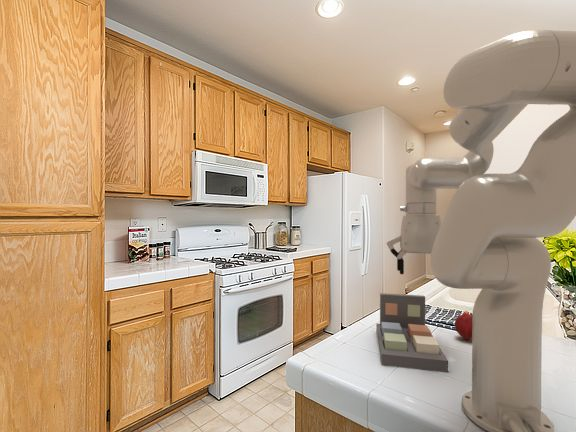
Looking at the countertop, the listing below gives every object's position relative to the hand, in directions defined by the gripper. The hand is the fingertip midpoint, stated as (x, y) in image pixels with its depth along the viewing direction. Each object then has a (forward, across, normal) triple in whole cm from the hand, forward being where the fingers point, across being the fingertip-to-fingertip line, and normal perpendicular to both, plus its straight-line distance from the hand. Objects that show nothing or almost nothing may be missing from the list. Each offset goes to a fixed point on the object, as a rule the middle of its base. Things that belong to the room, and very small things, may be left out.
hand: (420, 274), depth 81 cm
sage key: (+17, -7, -9) cm, 20 cm away
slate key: (+17, -7, -1) cm, 18 cm away
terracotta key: (+17, 0, -1) cm, 17 cm away
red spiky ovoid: (+19, +13, +6) cm, 24 cm away
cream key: (+17, 0, -9) cm, 19 cm away
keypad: (+19, -4, -4) cm, 19 cm away
